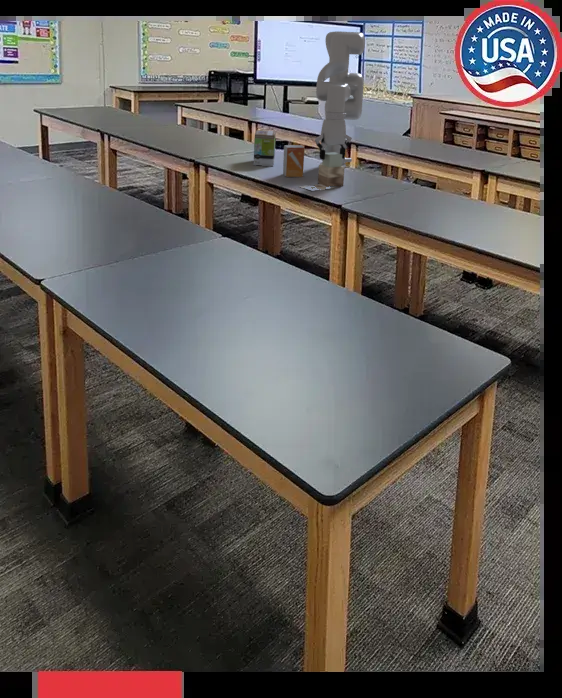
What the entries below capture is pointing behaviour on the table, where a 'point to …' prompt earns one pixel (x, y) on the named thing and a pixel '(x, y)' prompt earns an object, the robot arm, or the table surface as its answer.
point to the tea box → (264, 148)
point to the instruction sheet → (317, 187)
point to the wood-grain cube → (331, 176)
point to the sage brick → (332, 160)
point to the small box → (293, 161)
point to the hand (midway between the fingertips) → (332, 158)
